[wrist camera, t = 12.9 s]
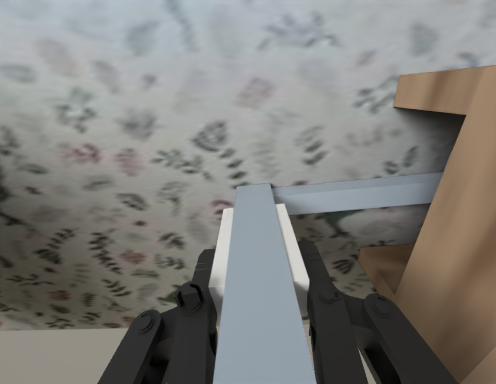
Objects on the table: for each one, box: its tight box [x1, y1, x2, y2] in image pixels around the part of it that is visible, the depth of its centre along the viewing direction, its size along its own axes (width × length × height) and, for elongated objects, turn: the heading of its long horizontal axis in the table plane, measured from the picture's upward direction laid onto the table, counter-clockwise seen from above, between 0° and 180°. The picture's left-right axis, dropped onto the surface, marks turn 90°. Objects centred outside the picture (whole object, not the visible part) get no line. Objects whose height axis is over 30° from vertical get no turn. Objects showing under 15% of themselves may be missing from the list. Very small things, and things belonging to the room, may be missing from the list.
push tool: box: [213, 149, 453, 384], centre depth 11 cm, size 19×6×16 cm, turn 96°
